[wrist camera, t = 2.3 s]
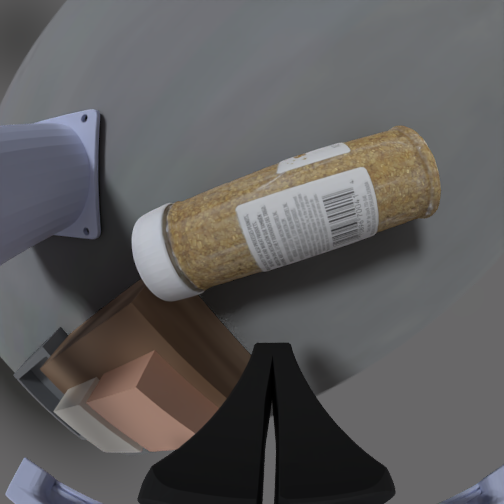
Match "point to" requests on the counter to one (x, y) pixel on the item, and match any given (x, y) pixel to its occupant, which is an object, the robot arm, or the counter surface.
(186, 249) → the sprinkles bottle
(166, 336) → the walnut board
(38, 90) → the counter surface
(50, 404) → the box
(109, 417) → the terracotta tile
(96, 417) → the cream tile
